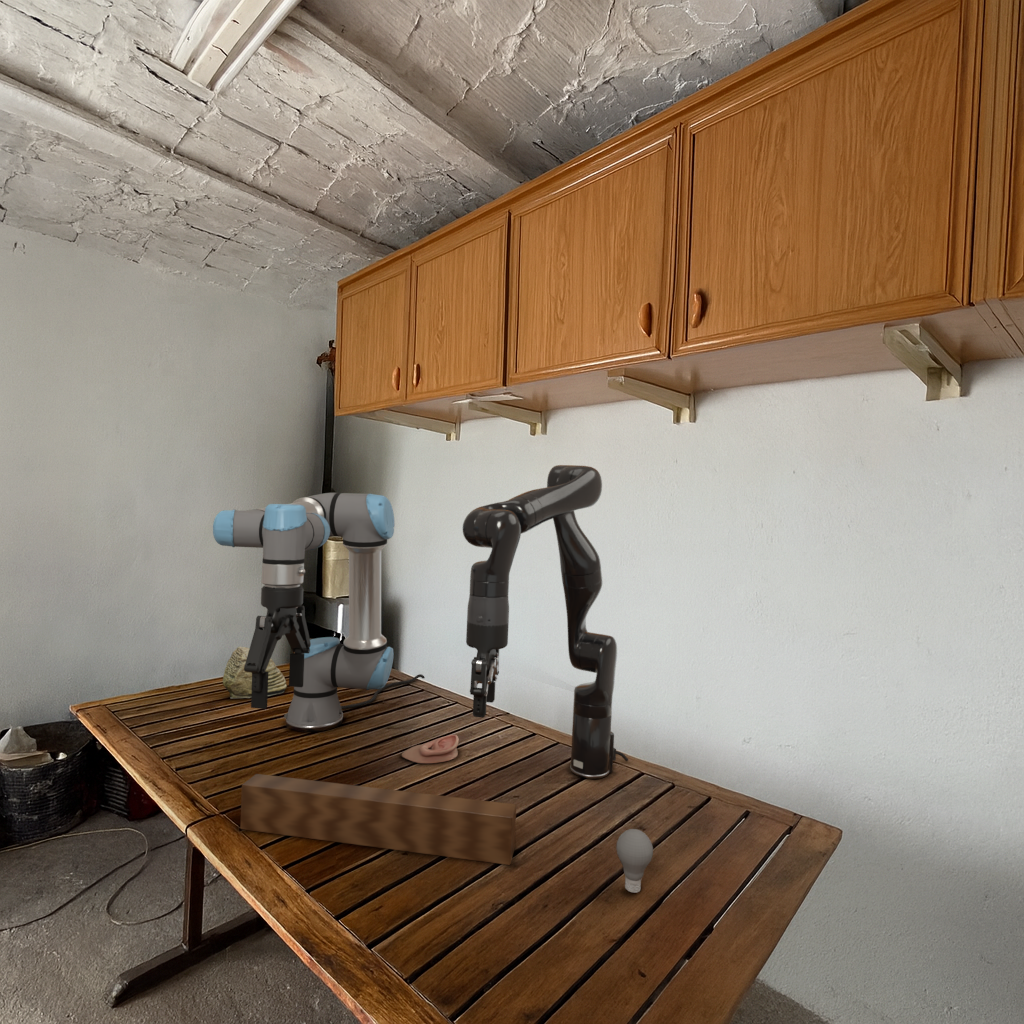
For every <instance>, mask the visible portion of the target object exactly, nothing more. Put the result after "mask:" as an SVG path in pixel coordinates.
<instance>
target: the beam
mask: <svg viewBox="0 0 1024 1024" xmlns="http://www.w3.org/2000/svg"><path fill="white" fill-rule="evenodd" d="M240 796H241V797H240V799H241V801H240V825H239V826H240V827H239V829H240V830H243V831H251V832H258V833H259V832H260V833H267V834H274V835H281V836H287V837H288V836H290V837H295V838H296V837H297V838H305V839H310V840H311V839H312V840H320V841H328V842H333V843H334V842H335V843H342V844H350V845H355V846H364V847H372V848H379V849H385V850H386V849H387V850H395V851H402V852H409V853H417V854H422V855H423V854H425V855H431V856H439V857H446V858H447V857H448V858H454V859H461V860H470V861H477V862H484V863H490V864H491V863H493V864H499V865H508V866H510V865H511V863H512V860H513V856H514V853H515V848H516V847H515V846H516V845H515V844H516V824H517V823H516V820H517V804H515V803H506V802H499V801H490V800H481V799H473V798H465V797H456V796H447V795H439V794H433V793H432V794H430V793H423V792H414V791H405V790H397V789H389V788H388V789H387V788H379V787H373V786H363V785H355V784H346V783H338V782H329V781H321V780H314V779H313V780H312V779H304V778H296V777H295V778H294V777H289V776H288V777H286V776H278V775H270V774H261V773H256V774H254V775H252V777H250V778H249V779H247V780H246V781H245V782H244V783H242V784H241V795H240Z"/></svg>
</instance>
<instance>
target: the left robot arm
mask: <svg viewBox="0 0 1024 1024" xmlns="http://www.w3.org/2000/svg"><path fill="white" fill-rule="evenodd" d="M394 533H395V514H394V509H393V506H392V503H391V501H390V499H389V498H388V497H387V496H385V495H383V494H375V493H359V492H357V493H356V492H353V493H352V492H325V493H318V494H314V495H309V496H304V497H299V498H297V499H295V500H293V501H292V503H269V504H267V505H266V506H265V507H259V508H253V509H245V510H238V509H237V510H236V509H225V510H221V511H219V512H218V513H217V514H216V516H215V517H214V521H213V524H212V535H213V538H214V541H215V542H216V543H217V544H218V545H220V546H222V547H223V546H224V547H232V548H235V547H236V548H259V549H260V548H262V564H261V565H262V566H261V567H262V568H261V584H263V586H262V587H261V591H260V605H261V606H262V607H263V608H266V615H257V616H256V618H255V628H254V631H253V635H252V638H251V642H250V646H249V648H250V649H249V652H248V656H247V659H246V663H245V666H244V671H246V672H251V673H252V693H251V698H250V702H251V703H250V708H251V709H259V710H266V709H267V708H268V700H269V699H268V697H269V696H268V672H265V671H266V668H267V666H268V663H269V661H270V659H272V656H273V653H274V651H275V649H276V646H277V643H278V641H281V639H282V638H283V636H285V638H286V640H287V643H288V644H289V647H290V649H291V653H289V668H288V669H289V670H288V671H289V672H288V673H289V674H288V675H289V676H288V677H289V678H288V687H293V695H292V696H293V697H292V699H291V702H290V704H289V708H288V711H287V713H284V716H283V719H285V726H286V728H287V729H289V730H291V731H294V732H295V731H296V732H301V733H316V732H325V731H329V730H332V729H335V728H337V727H339V726H340V725H342V723H343V722H344V713H343V710H346V709H347V710H348V709H352V708H357V707H362V706H365V705H368V704H371V703H372V702H374V701H375V700H376V699H377V696H378V695H379V693H381V692H382V691H384V690H385V689H387V688H390V687H393V686H399V685H405V684H409V683H413V682H415V681H416V680H417V679H419V678H421V679H425V678H426V677H425V676H424V675H423V674H420V673H419V674H417V675H415V676H414V677H413V678H410V679H407V680H401V681H396V682H395V681H394V682H390V683H388V681H389V678H390V675H391V673H392V672H391V671H392V668H393V664H394V663H393V662H394V656H395V655H394V653H395V652H394V648H393V647H391V646H388V644H387V643H388V641H387V637H385V636H384V635H383V634H382V550H383V549H384V548H385V547H386V546H388V540H390V539H392V538H393V537H394ZM330 536H331V537H341V538H342V545H343V546H344V547H345V548H346V549H347V551H348V636H347V637H346V638H344V640H343V644H341V641H340V639H339V638H338V637H334V636H325V637H316V638H312V639H310V633H309V630H308V625H307V620H306V614H305V612H306V611H305V610H306V609H305V606H304V605H303V603H304V587H303V586H302V584H303V583H304V577H305V574H306V569H305V555H306V554H305V553H306V551H314V550H316V549H318V548H320V547H322V546H323V545H324V544H326V543H327V542H328V539H329V538H330ZM387 683H388V684H387ZM338 688H340V689H341V688H342V689H355V690H356V689H357V690H366V691H370V690H376V691H375V692H374V694H373V696H372V698H370V699H367V700H365V701H361V702H358V703H357V702H356V703H352V704H347V705H341V702H340V699H339V695H338Z"/></svg>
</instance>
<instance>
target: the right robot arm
mask: <svg viewBox="0 0 1024 1024" xmlns="http://www.w3.org/2000/svg"><path fill="white" fill-rule="evenodd" d="M602 491H603V480H602V476H601V474H600V472H599V471H598V469H596V468H594V467H592V466H589V465H572V464H559V465H554V466H553V467H551V468H550V470H549V472H548V475H547V480H546V487H541V488H537V489H536V488H535V489H531V490H528V491H525V492H522V493H520V494H518V495H516V496H513V497H512V498H509V499H507V500H504V501H500V502H494V503H490V504H486V505H481V506H479V507H476V508H474V509H472V510H471V511H470V512H469V513H468V514H467V515H466V517H465V518H464V520H463V523H462V534H463V537H464V539H465V541H467V543H469V544H470V545H472V546H474V547H477V548H485V549H486V548H488V549H491V551H490V554H489V556H488V558H487V559H485V560H479V561H476V562H474V563H473V564H472V565H471V568H470V578H469V596H468V602H467V611H466V612H467V613H466V614H467V615H466V638H465V644H466V645H467V646H468V647H469V648H472V649H476V650H477V651H476V656H473V659H472V660H471V661H470V662H471V669H470V670H471V672H470V689H469V694H470V695H472V696H473V700H472V702H473V703H472V716H473V717H475V718H482V719H483V718H485V717H486V715H487V703H494V702H495V699H496V682H497V680H498V676H499V674H500V671H499V670H500V650H501V649H505V648H506V647H507V646H508V644H509V625H510V621H509V620H510V601H509V591H510V573H511V569H512V565H513V562H514V559H515V556H516V552H517V549H518V546H519V543H520V540H521V536H522V535H521V534H524V533H527V532H529V531H531V530H532V529H534V528H537V527H538V526H540V525H542V524H544V523H545V522H547V521H550V520H552V521H553V525H554V529H555V535H556V541H557V546H558V554H559V556H558V557H559V565H560V573H561V582H562V589H563V594H564V601H565V612H566V622H567V623H566V626H567V650H568V659H569V663H570V664H571V666H572V667H573V668H574V669H576V670H580V671H583V672H588V673H595V675H596V676H595V680H593V681H590V682H589V681H588V682H584V683H583V682H582V683H580V684H578V685H576V686H575V687H574V689H573V705H572V707H573V708H572V727H571V728H572V730H571V747H570V749H571V750H570V763H569V764H570V765H569V770H570V772H571V773H572V774H573V775H575V776H577V777H580V778H583V779H590V780H593V779H594V780H596V779H603V778H606V777H608V775H609V774H612V773H613V771H614V769H613V768H614V762H615V761H616V760H617V756H620V757H622V759H623V760H624V761H625V762H628V761H629V758H628V757H627V756H626V755H625V754H624V753H623V752H621V751H617V749H616V748H615V747H614V746H615V733H614V732H613V731H612V716H613V715H612V714H613V713H612V712H613V697H614V690H615V682H616V681H615V680H616V679H615V678H616V668H617V661H618V660H617V659H618V644H617V641H616V639H615V637H614V636H612V635H608V634H605V633H604V634H603V633H597V632H591V631H588V630H587V616H588V614H589V612H590V609H591V608H592V607H593V605H594V603H595V602H596V601H597V598H598V597H599V594H600V593H601V590H602V588H603V574H602V563H601V559H600V555H599V554H598V553H599V552H598V551H597V549H596V548H595V546H594V545H593V543H592V542H591V541H590V539H589V538H588V536H587V535H586V533H585V532H584V531H583V529H582V527H581V525H579V522H578V519H577V516H576V512H575V511H579V510H583V509H587V508H591V507H593V506H595V505H596V504H597V503H598V502H599V500H600V499H601V496H602ZM479 684H481V687H478V685H479Z"/></svg>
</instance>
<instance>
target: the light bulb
mask: <svg viewBox="0 0 1024 1024" xmlns="http://www.w3.org/2000/svg"><path fill="white" fill-rule="evenodd" d="M615 849H616V854H617V857H618V859H619V861H620V863H621V865H622V867H623V873H624V874H623V875H624V876H625V878H624V888H625V890H627V891H628V892H630V893H634V894H635V893H639V892H640V891H641V889H642V887H641V886H642V879H643V877H644V875H645V871H646V868H647V867H648V866H649V864H650V863H651V861H652V859H653V855H654V847H653V843H652V841H651V838H649V836H648V835H647V834H646V833H645V832H643V831H642V830H641V829H636V828H629V829H627V830H625V831H623V832H622V833H621V834H620V835H619V837H618V839H617V841H616V847H615Z"/></svg>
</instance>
